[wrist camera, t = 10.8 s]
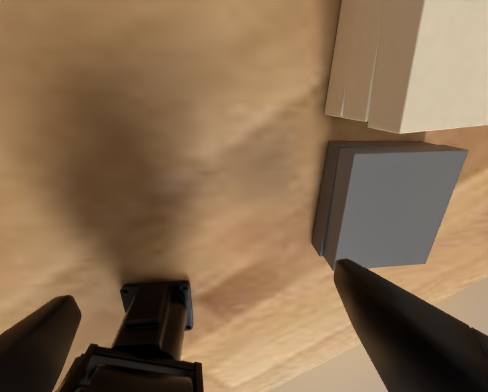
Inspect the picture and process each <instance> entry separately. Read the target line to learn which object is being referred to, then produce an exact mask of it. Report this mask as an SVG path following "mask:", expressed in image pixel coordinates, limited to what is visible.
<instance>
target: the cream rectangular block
mask: <svg viewBox="0 0 488 392" xmlns="http://www.w3.org/2000/svg"><path fill="white" fill-rule="evenodd" d="M482 125H488V0H384V7H383V15H382V22H381V30H380V37H379V45H378V52H377V60H376V67H375V75H374V82H373V90H372V97H371V105H370V112H369V120H368V128H373V129H378V130H383V131H388V132H393V133H398V134H403V133H413V132H423V131H433V130H442V129H452V128H462V127H472V126H482Z"/></svg>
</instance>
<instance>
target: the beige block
mask: <svg viewBox="0 0 488 392" xmlns="http://www.w3.org/2000/svg"><path fill="white" fill-rule="evenodd" d="M383 7H384V0H342V3H341V9H340V16H339V22H338V29H337V35H336V42H335V48H334V55H333V61H332V68H331V74H330V80H329V87H328V93H327V100H326V106H325V113H324V115H329V116H335V117H343V118H345V119H351V120H358V121H364V122H368V120H369V112H370V105H371V97H372V90H373V82H374V75H375V67H376V60H377V52H378V45H379V37H380V30H381V22H382V15H383Z"/></svg>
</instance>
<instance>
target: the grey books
mask: <svg viewBox="0 0 488 392" xmlns="http://www.w3.org/2000/svg"><path fill="white" fill-rule="evenodd" d="M467 153H468V150H466V149H461V148H456V147H451V146H447V145H435V144H430V143H426V142H364V141H329V144H328V150H327V156H326V162H325V168H324V173H323V179H322V185H321V191H320V197H319V203H318V209H317V215H316V221H315V226H314V232H313V238H312V245H313V247H314V248H315V250H316V251H317V253H318V255H319V256H324V258H325V259H326V261H327V262H328V264H329V265H330V267H331V268H332V270H333V271H334V269H335V262H336V260H338V259H345V258H347V259H350V260H352V261H354V262H356V263H357V264H359V265H361V266H363V267H365V268H376V267H389V266H401V265H414V264H425V263H426V261H427V258H428V256H429V253H430V250H431V248H432V245H433V242H434V240H435V237H436V235H437V232H438V229H439V227H440V224H441V222H442V219H443V216H444V214H445V211H446V208H447V206H448V203H449V201H450V198H451V195H452V193H453V190H454V187H455V185H456V182H457V180H458V177H459V174H460V172H461V169H462V167H463V164H464V161H465V159H466V156H467Z"/></svg>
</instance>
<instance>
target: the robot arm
mask: <svg viewBox="0 0 488 392" xmlns="http://www.w3.org/2000/svg"><path fill="white" fill-rule="evenodd" d="M334 283H335V286H336V288H337V290H338V293H339V295H340V297H341V300H342V302H343V305H344V307H345V309H346V312H347V314H348V316H349V319H350V321H351V323H352V325H353V327H354V329H355V331H356V333H357V335H358V337H359V339H360V341H361V342H362V344H363V346H364V348H365V350H366V352H367V353H368V355H369V357H370V359H371V361H372V362H373V364H374V366H375V368H376V370H377V372H378V373H379V375H380V377H381V379H382V381H383V382H384V384H385V386H386V388H387V390H388V392H488V336H487V335H485V334H483V333H481V332H480V331H478V330H476V329H474V328H470V327H469V326H468V325H467V324H465V323H463V322H462V321H460V320H458V319H456V318H454V317H452V316H451V315H449V314H447V313H445V312H444V311H442V310H440V309H438V308H436V307H434V306H433V305H431V304H429V303H427V302H426V301H424V300H422V299H420V298H418V297H417V296H415V295H413V294H411V293H409V292H408V291H406V290H404V289H402V288H400V287H399V286H397V285H395V284H393V283H391V282H390V281H388V280H386V279H384V278H382V277H381V276H379V275H377V274H375V273H373V272H372V271H370V270H368V269H366V268H365V267H363V266H361V265H359V264H357V263H356V262H354V261H352V260H350V259H347V258H345V259H338V260H336V262H335V269H334ZM183 286H186V287H183ZM125 289H126V290H125ZM120 293H121V297H122V301H123V305H124V309H125V313H126V314H125V317H124V319H123V321H122V324H121V326H120V328H119V330H118V333H117V335H116V337H115V340H114V342H113V344H112V347H111V348H106V347H100V346H98V345H97V344H90V346H89V347H88V349H87V351H86V352H85V354H82V355H81V356H80V357H77V358H75V360H74V362H73V364H72V366H71V368H70V369H69V371H68V373H67V375H66V376H65V378H64V380H63V382H62V383H61V385H60V386H59V388H58V389H57V390H56V392H204V390H203V376H202V363H199V362H195V363H191V362H186V361H180V358H181V351H182V344H183V338H184V331H186V330H191V329H192V328H193V313H192V302H191V290H190V283H189V282H187V281H180V282H160V283H141V284H125V285H123V286H122V288H121V290H120ZM80 320H81V311H80V309H79V307H78V305H77V303H76V301H75V299H74V298H73V297H72V296H71V295H66V296H59V297H56V298H54V299H52V300H51V301H49V302H48V303H47V304H45V305H44V306H42V307H41V308H39V309H38V310H36V311H35V312H33V313H32V314H30V315H29V316H27V317H26V318H24V319H23V320H21V321H20V322H18V323H17V324H15V325H14V326H13V327H11V328H10V329H8V330H7V331H5V332H4V333H2V334H1V335H0V392H52V391H53V389H54V386H55V384H56V382H57V380H58V378H59V376H60V373H61V371H62V369H63V366H64V364H65V361H66V358H67V356H68V353H69V350H70V347H71V345H72V342H73V339H74V337H75V334H76V331H77V329H78V326H79V323H80Z"/></svg>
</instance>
